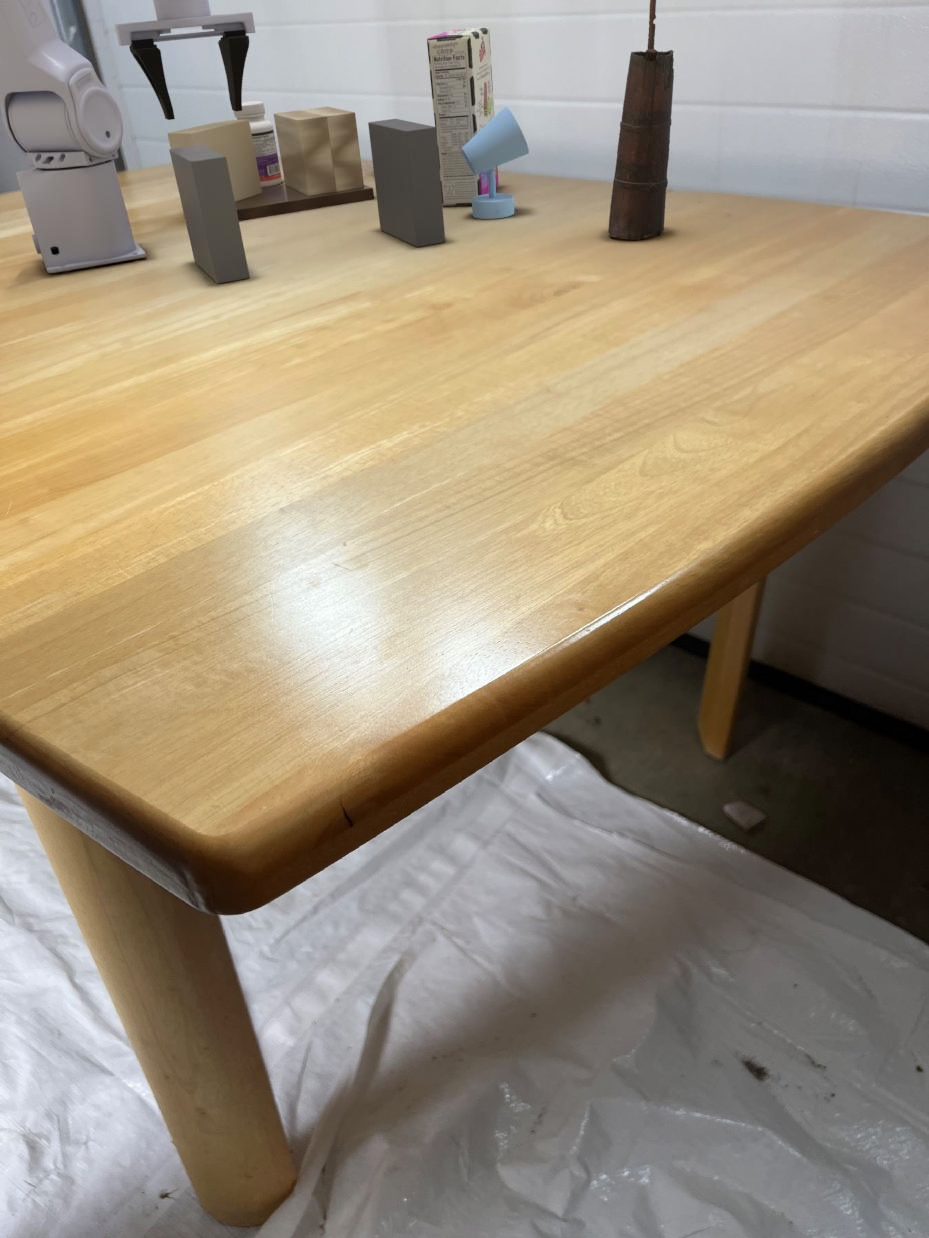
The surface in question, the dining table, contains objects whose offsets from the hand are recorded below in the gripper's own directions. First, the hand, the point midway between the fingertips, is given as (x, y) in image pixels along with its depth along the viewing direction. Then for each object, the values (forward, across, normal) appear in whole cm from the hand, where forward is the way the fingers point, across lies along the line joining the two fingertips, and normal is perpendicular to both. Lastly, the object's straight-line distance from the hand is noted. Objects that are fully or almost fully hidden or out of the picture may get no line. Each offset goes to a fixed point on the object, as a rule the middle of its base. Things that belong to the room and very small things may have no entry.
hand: (204, 115), depth 105 cm
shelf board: (+10, -7, 0) cm, 13 cm away
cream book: (+9, 0, 0) cm, 9 cm away
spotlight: (+11, -24, +25) cm, 36 cm away
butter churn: (+11, -29, +44) cm, 54 cm away
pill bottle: (+11, -9, -16) cm, 21 cm away
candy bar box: (+11, -26, +14) cm, 31 cm away
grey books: (+10, -3, +28) cm, 30 cm away
